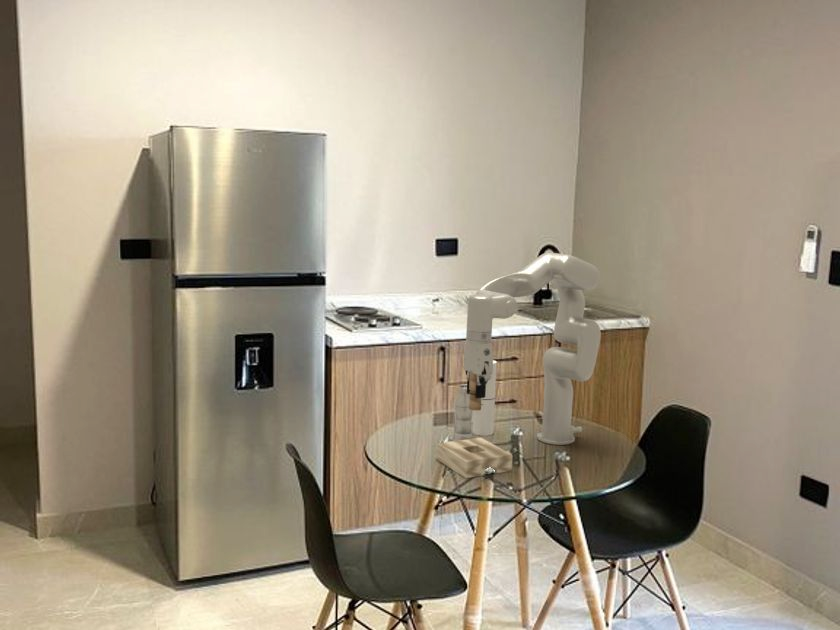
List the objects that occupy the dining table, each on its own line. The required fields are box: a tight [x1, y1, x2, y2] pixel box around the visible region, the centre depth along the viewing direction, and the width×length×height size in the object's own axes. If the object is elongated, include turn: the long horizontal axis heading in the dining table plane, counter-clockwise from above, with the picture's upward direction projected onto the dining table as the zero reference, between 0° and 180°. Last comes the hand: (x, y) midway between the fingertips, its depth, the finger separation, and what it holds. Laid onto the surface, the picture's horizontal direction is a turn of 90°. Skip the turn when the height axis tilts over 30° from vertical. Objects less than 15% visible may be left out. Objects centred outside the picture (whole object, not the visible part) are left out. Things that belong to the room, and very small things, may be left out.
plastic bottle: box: [452, 384, 474, 441], centre depth 277 cm, size 6×7×20 cm
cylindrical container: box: [472, 359, 498, 437], centre depth 292 cm, size 7×7×25 cm
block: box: [435, 437, 513, 479], centre depth 261 cm, size 16×18×5 cm
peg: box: [469, 370, 483, 411], centre depth 257 cm, size 4×4×12 cm
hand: (475, 395), depth 257 cm, fingers closed on peg, 4 cm apart
